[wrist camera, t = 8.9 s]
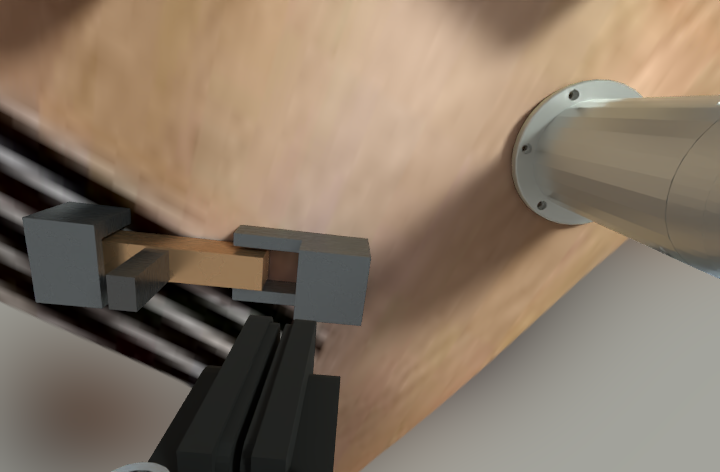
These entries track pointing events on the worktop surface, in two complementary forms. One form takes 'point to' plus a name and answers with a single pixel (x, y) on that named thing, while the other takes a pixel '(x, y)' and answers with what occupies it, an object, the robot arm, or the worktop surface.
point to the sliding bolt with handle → (175, 265)
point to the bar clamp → (316, 251)
